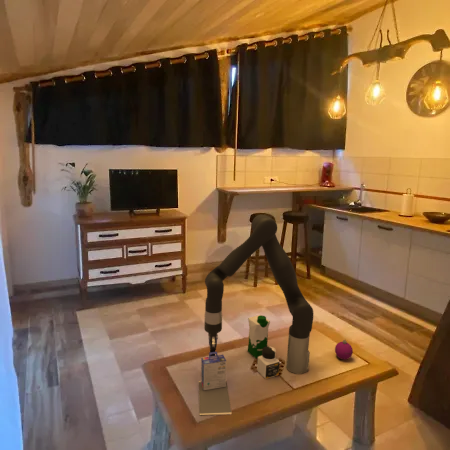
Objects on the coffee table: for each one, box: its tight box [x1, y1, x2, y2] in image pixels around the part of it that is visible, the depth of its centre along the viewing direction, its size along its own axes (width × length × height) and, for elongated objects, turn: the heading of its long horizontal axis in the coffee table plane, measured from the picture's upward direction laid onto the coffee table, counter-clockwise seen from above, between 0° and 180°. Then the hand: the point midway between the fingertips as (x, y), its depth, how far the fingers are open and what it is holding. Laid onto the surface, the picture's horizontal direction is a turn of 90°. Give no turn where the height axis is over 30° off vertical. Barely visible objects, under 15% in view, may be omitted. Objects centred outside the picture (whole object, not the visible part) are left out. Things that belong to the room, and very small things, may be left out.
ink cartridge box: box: [200, 351, 227, 390], centre depth 154 cm, size 10×6×14 cm, turn 107°
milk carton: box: [247, 314, 271, 359], centre depth 179 cm, size 9×9×20 cm
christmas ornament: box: [334, 339, 354, 360], centre depth 178 cm, size 8×8×10 cm
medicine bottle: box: [256, 345, 280, 380], centre depth 164 cm, size 7×7×12 cm
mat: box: [198, 379, 232, 417], centre depth 148 cm, size 12×20×1 cm, turn 5°
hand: (212, 356), depth 161 cm, fingers closed
